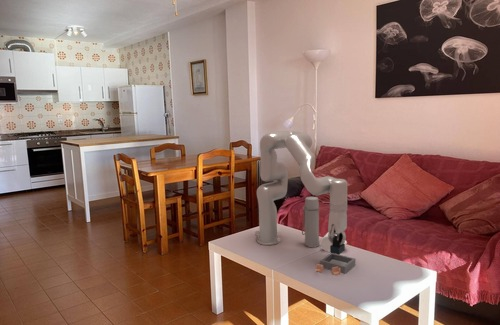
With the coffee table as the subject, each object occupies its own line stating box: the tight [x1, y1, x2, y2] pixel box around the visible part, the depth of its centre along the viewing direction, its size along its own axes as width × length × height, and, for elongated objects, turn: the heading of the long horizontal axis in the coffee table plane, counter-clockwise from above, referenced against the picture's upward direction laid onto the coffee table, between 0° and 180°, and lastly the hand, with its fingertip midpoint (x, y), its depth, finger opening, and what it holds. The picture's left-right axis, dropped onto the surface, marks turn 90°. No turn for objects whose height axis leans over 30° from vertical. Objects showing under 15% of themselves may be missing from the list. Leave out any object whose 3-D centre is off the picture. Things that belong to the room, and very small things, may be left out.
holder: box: [319, 252, 356, 274], centre depth 172 cm, size 12×11×3 cm
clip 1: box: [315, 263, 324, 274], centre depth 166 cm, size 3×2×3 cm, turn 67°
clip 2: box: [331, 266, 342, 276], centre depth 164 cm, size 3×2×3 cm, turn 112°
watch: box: [328, 231, 347, 255], centre depth 170 cm, size 6×8×11 cm
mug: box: [320, 231, 348, 253], centre depth 191 cm, size 12×10×8 cm
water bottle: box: [301, 196, 320, 248], centre depth 196 cm, size 9×8×25 cm
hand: (338, 246), depth 170 cm, fingers closed on watch, 3 cm apart
